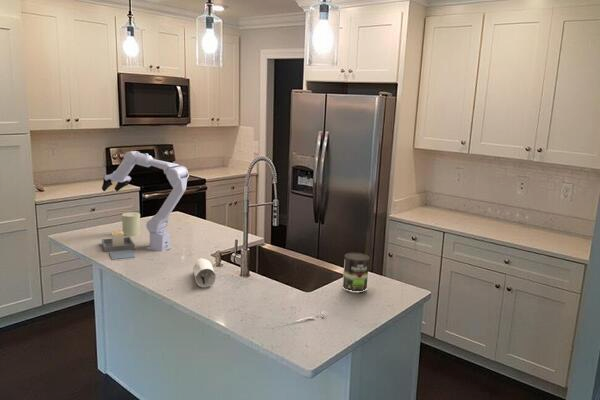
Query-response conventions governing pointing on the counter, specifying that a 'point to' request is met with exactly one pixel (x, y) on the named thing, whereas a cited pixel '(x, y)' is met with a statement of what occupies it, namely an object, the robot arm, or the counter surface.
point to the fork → (311, 317)
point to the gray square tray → (127, 246)
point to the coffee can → (355, 271)
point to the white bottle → (204, 272)
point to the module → (117, 238)
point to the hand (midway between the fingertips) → (109, 189)
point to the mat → (121, 255)
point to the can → (131, 224)
